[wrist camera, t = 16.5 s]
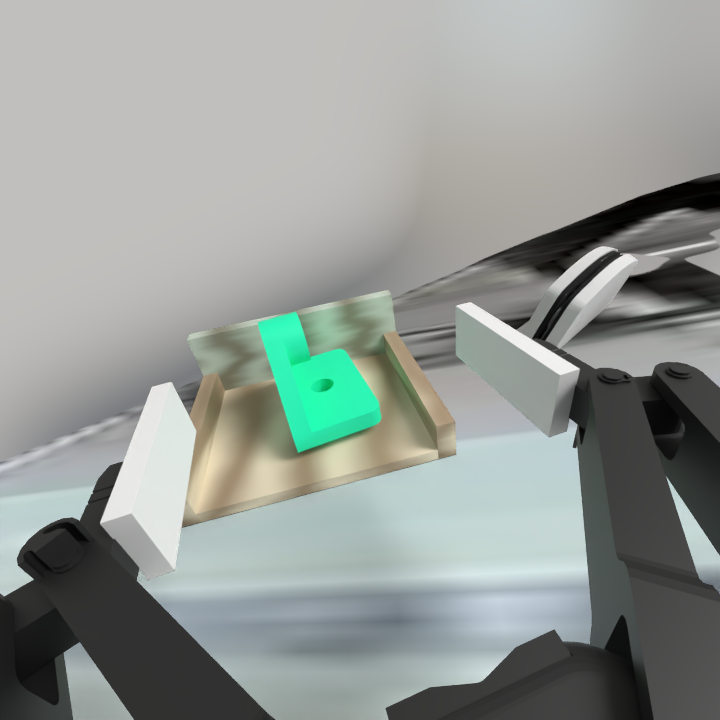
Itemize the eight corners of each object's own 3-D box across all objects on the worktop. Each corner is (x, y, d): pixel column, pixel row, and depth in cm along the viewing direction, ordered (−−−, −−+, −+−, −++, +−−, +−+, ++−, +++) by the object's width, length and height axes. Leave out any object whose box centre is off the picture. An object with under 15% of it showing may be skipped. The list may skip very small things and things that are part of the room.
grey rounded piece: (569, 296, 50) (610, 227, 42) (602, 313, 47) (652, 243, 40) (502, 347, 41) (539, 272, 34) (539, 371, 39) (587, 296, 32)
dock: (180, 527, 27) (129, 452, 23) (217, 393, 42) (190, 334, 38) (456, 454, 29) (453, 372, 25) (395, 351, 44) (387, 290, 40)
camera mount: (386, 431, 31) (369, 325, 26) (301, 462, 30) (264, 356, 24) (347, 366, 41) (329, 281, 36) (282, 387, 40) (253, 300, 34)
